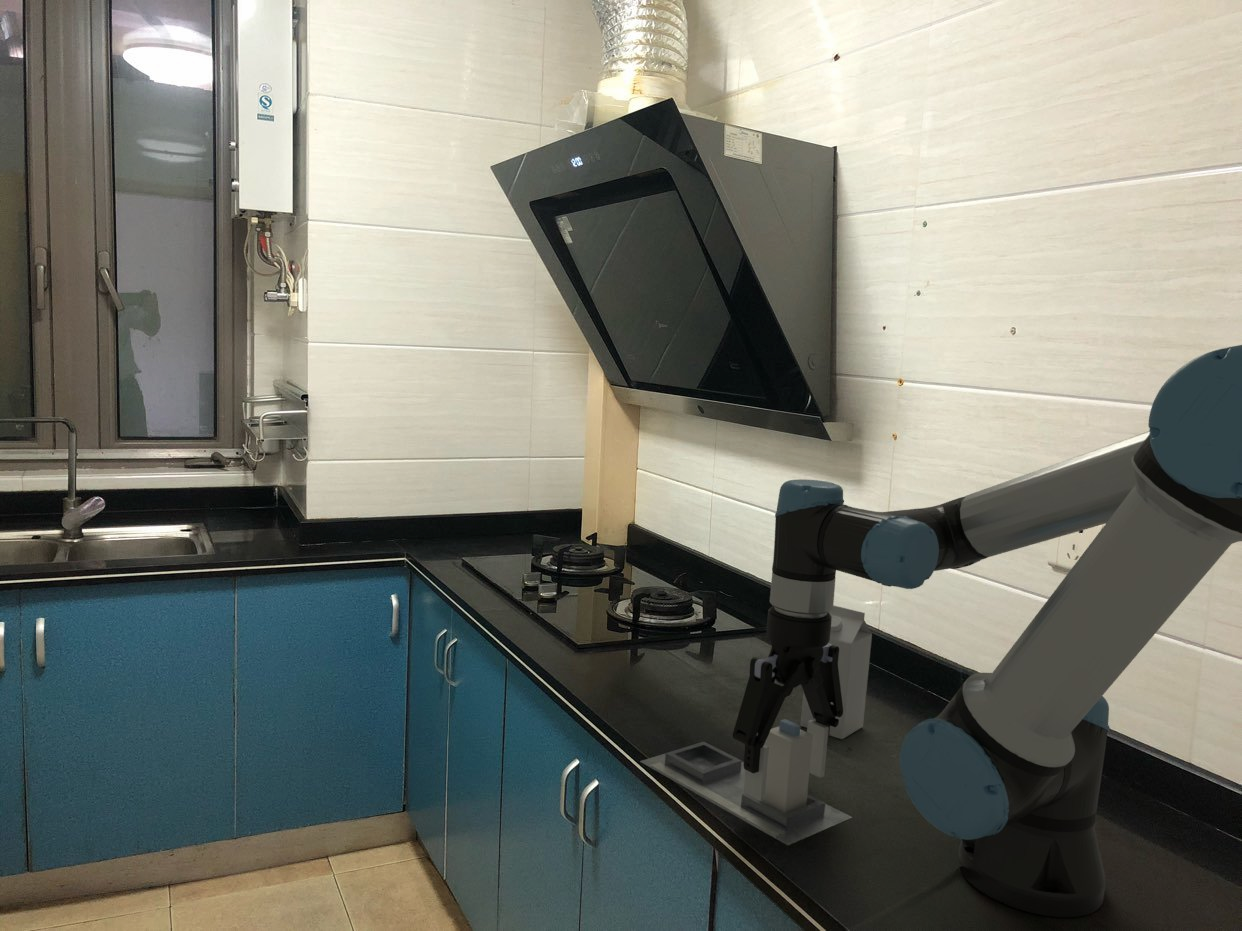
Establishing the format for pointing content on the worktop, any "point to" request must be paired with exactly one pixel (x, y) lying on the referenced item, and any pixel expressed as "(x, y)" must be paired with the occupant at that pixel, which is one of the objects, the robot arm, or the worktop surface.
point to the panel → (741, 792)
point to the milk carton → (848, 669)
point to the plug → (788, 767)
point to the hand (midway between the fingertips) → (784, 784)
